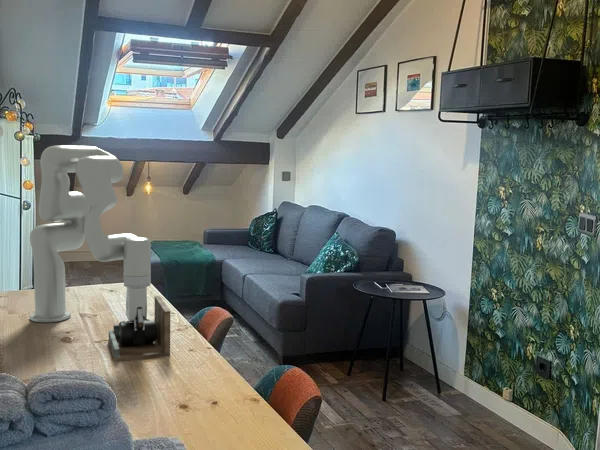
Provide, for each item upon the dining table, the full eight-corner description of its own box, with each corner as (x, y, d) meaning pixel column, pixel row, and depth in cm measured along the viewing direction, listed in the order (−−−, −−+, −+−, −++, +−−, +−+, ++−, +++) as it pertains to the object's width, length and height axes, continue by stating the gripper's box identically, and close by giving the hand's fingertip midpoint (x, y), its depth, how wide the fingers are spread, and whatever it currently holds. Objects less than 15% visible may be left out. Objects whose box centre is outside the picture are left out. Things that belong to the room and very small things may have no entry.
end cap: (121, 349, 174) (121, 326, 173) (117, 342, 180) (117, 319, 179) (157, 345, 178) (157, 323, 177) (151, 338, 184) (151, 316, 183)
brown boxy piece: (108, 341, 184) (108, 298, 182) (159, 336, 189) (159, 295, 188) (114, 361, 167) (114, 315, 166) (170, 356, 173) (170, 311, 171)
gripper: (120, 274, 183) (120, 331, 185) (127, 287, 167) (127, 350, 169) (146, 273, 186) (145, 329, 188) (155, 286, 170) (154, 347, 172)
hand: (137, 339), depth 179 cm, fingers closed on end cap, 7 cm apart
